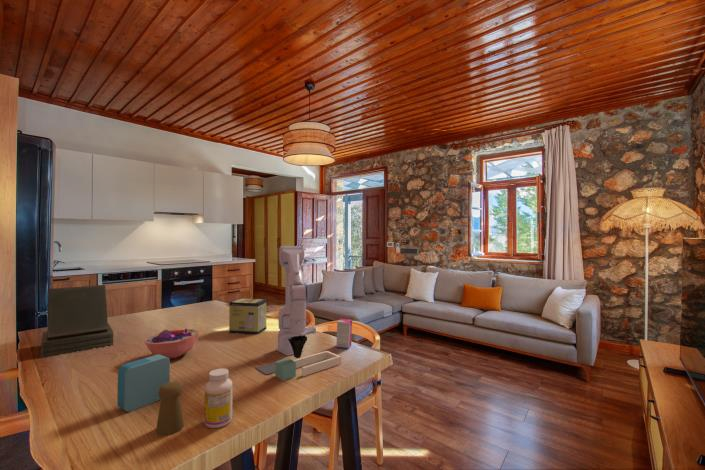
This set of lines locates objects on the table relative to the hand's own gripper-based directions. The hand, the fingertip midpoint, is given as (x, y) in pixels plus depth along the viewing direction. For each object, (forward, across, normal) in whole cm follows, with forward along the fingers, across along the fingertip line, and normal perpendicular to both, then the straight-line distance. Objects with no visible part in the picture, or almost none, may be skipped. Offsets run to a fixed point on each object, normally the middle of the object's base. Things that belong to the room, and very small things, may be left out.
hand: (297, 357), depth 116 cm
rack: (+5, +8, 0) cm, 9 cm away
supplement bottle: (+5, -32, -13) cm, 35 cm away
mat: (+5, -5, +9) cm, 12 cm away
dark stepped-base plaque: (+6, -56, +87) cm, 103 cm away
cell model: (+6, -28, +46) cm, 54 cm away
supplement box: (+6, +31, +10) cm, 33 cm away
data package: (+6, -44, +11) cm, 46 cm away
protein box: (+6, +10, +60) cm, 61 cm away
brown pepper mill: (+5, -42, -8) cm, 44 cm away
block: (+5, -5, 0) cm, 7 cm away
